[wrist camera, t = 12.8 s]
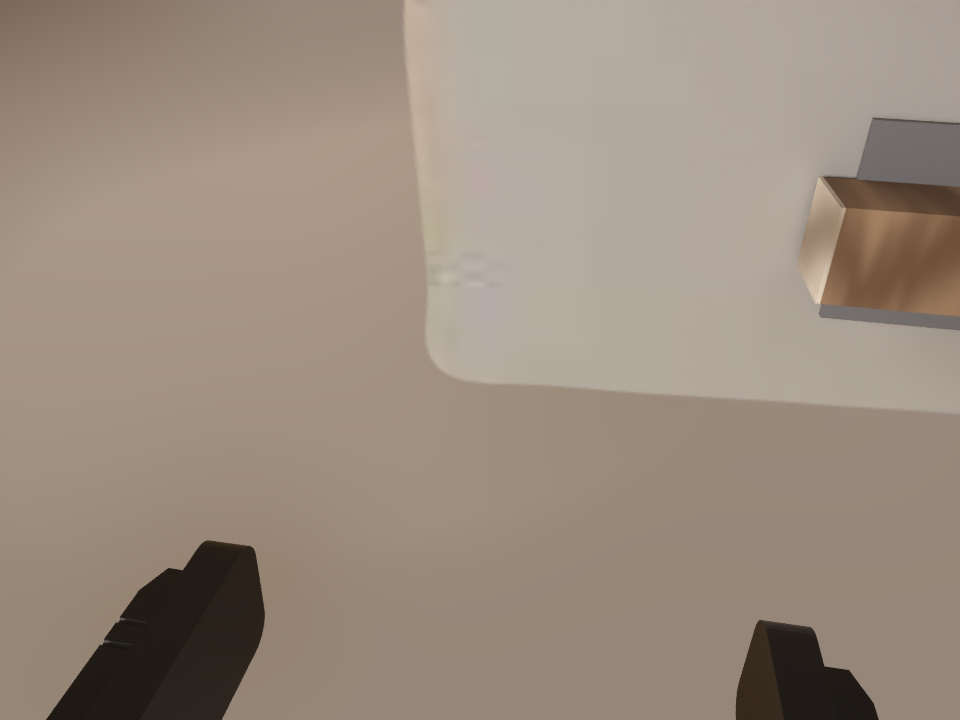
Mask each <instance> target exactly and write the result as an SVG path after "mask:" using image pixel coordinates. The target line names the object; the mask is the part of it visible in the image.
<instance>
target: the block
mask: <svg viewBox="0 0 960 720" xmlns="http://www.w3.org/2000/svg"><path fill="white" fill-rule="evenodd" d="M797 266H798V268H799V270H800V273H801V275H802V277H803V279H804V281H805V283H806V285H807V287H808V289H809V291H810V293H811V295H812V297H813V299H814V302H815V303H816V304H827V305H838V306H849V307H860V308H871V309H882V310H893V311H904V312H915V313H926V314H937V315H948V316H959V317H960V187H956V186H942V185H928V184H914V183H900V182H886V181H872V180H858V179H844V178H830V177H819V178H818V182H817V186H816V190H815V194H814V198H813V202H812V206H811V210H810V214H809V218H808V222H807V226H806V230H805V234H804V238H803V242H802V246H801V250H800V254H799V258H798V262H797Z"/></svg>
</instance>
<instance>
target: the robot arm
mask: <svg viewBox="0 0 960 720" xmlns="http://www.w3.org/2000/svg"><path fill="white" fill-rule="evenodd" d="M264 619H265V611H264V603H263V597H262V591H261V584H260V578H259V572H258V566H257V559H256V554H255V551H254V549H253V548H252V547H251V546H245V545H238V544H231V543H224V542H216V541H209V540H208V541H205V542H203V543H202V544H201V545H200V546H199V548H198V549H197V550H196V552H195V553H194V555H193V556H192V558H191V559H190V561H189V562H188V564H187V565H186V567H185V568H184V570H178V569H171V568H168V569H167V570H165V571H164V572H163V573H161V574H160V575H159V576H158V577H156V578H155V579H153V580H152V581H151V582H149V583H148V584H147V585H146V586H144V587H143V588H141V589H140V590H139V591H138V593H137V594H136V596H135V597H134V598H133V600H132V601H131V602H130V604H129V605H128V607H127V608H126V610H125V611H124V612H123V614H122V615H121V616H120V621H119V622H118V623H115V625H114V626H113V627H112V629H111V630H110V632H109V633H108V634H107V636H106V637H105V639H104V643H103V645H100V646H99V647H98V649H97V650H96V651H95V652H94V654H93V655H92V657H91V658H90V659H89V661H88V662H87V664H86V665H85V666H84V668H83V669H82V671H81V672H80V673H79V675H78V676H77V678H76V679H75V680H74V682H73V683H72V684H71V686H70V687H69V689H68V690H67V691H66V693H65V694H64V696H63V697H62V698H61V700H60V701H59V703H58V704H57V705H56V707H55V708H54V710H53V711H52V713H51V714H50V715H49V716H48V718H47V719H46V720H222V718H223V716H224V714H225V712H226V710H227V708H228V706H229V704H230V702H231V700H232V698H233V696H234V694H235V692H236V690H237V688H238V686H239V684H240V682H241V680H242V678H243V676H244V674H245V672H246V670H247V668H248V666H249V664H250V662H251V660H252V658H253V656H254V654H255V652H256V650H257V648H258V646H259V643H260V640H261V636H262V632H263V627H264ZM736 720H879V719H878V716H877V712H876V709H875V706H874V703H873V702H872V700H871V699H870V698H869V697H868V695H867V694H866V693H865V691H864V690H863V688H862V687H861V686H860V684H859V683H858V682H857V680H856V679H855V678H854V676H853V675H852V674H851V672H850V671H849V670H845V669H837V668H831V667H824V664H823V659H822V655H821V652H820V648H819V644H818V640H817V637H816V634H815V632H814V630H813V629H812V628H811V627H806V626H799V625H791V624H785V623H777V622H771V621H763V620H759V621H758V623H757V624H756V627H755V630H754V633H753V637H752V640H751V643H750V647H749V650H748V654H747V657H746V661H745V664H744V667H743V671H742V674H741V677H740V681H739V685H738V690H737V697H736Z"/></svg>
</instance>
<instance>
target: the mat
mask: <svg viewBox="0 0 960 720" xmlns="http://www.w3.org/2000/svg"><path fill="white" fill-rule="evenodd" d="M856 179H858V180H872V181H886V182H900V183H914V184H928V185H942V186H956V187H960V123H947V122H931V121H915V120H899V119H883V118H873V119H872V122H871V126H870V130H869V133H868V137H867V141H866V144H865V148H864V152H863V155H862V159H861V163H860V166H859V170H858V173H857V177H856ZM819 315H820V317H822V318H833V319H843V320H854V321H865V322H876V323H886V324H897V325H908V326H919V327H929V328H940V329H951V330H960V317H959V316H948V315H937V314H926V313H915V312H904V311H893V310H882V309H871V308H860V307H849V306H838V305H827V304H822V305H821V309H820V312H819Z"/></svg>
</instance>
